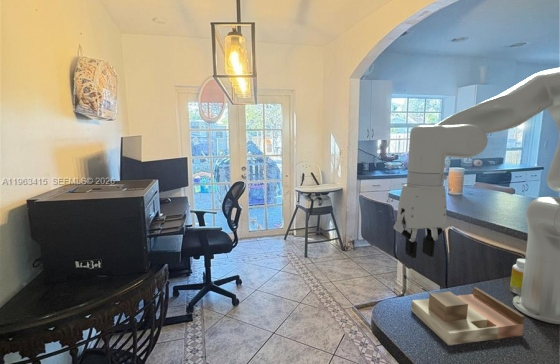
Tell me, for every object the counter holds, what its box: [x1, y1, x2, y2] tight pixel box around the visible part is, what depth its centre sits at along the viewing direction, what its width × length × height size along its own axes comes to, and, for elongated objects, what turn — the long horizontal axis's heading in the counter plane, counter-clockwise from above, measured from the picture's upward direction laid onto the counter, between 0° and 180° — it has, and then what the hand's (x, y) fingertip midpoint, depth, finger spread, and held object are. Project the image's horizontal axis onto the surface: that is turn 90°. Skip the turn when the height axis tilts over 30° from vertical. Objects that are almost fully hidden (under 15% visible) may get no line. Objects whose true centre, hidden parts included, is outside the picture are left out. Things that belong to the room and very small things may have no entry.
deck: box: [411, 286, 525, 346], centre depth 76 cm, size 20×14×5 cm
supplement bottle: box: [509, 258, 525, 296], centre depth 90 cm, size 6×6×10 cm
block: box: [428, 291, 468, 322], centre depth 74 cm, size 6×6×4 cm
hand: (419, 254), depth 71 cm, fingers open, 3 cm apart
